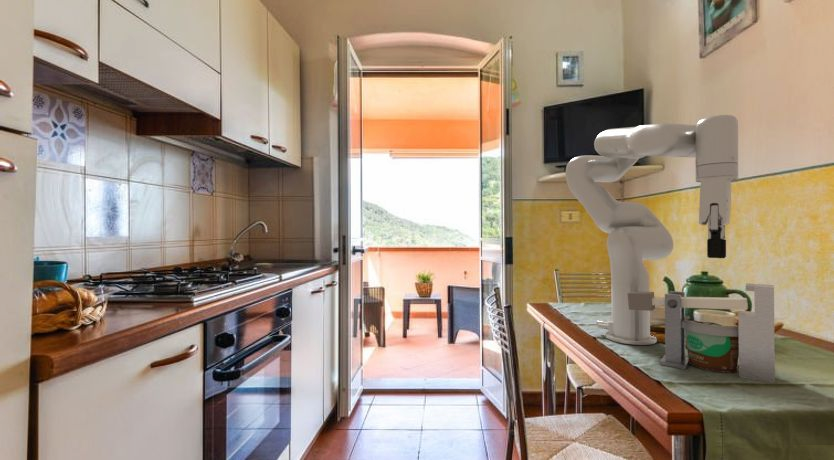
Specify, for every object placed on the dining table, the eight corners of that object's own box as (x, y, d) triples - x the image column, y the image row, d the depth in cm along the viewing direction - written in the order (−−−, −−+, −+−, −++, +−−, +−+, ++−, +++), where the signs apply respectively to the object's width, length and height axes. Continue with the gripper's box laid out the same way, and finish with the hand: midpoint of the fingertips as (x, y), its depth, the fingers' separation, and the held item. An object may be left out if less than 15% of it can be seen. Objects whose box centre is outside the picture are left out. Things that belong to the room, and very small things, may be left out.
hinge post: (659, 364, 92) (659, 294, 93) (666, 356, 99) (665, 290, 99) (685, 369, 89) (685, 296, 89) (691, 360, 95) (690, 292, 95)
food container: (669, 360, 95) (668, 317, 95) (687, 357, 97) (687, 315, 97) (725, 377, 83) (724, 329, 83) (744, 373, 86) (744, 326, 86)
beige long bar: (628, 309, 99) (627, 293, 99) (632, 307, 101) (631, 291, 102) (747, 314, 84) (745, 295, 84) (748, 312, 87) (746, 293, 87)
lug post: (739, 376, 84) (738, 285, 84) (740, 370, 88) (739, 283, 88) (774, 383, 81) (773, 287, 81) (774, 376, 85) (773, 285, 85)
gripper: (699, 178, 97) (700, 255, 97) (690, 172, 86) (691, 259, 86) (740, 175, 92) (740, 256, 92) (736, 168, 81) (736, 260, 81)
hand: (716, 257), depth 89 cm, fingers closed
